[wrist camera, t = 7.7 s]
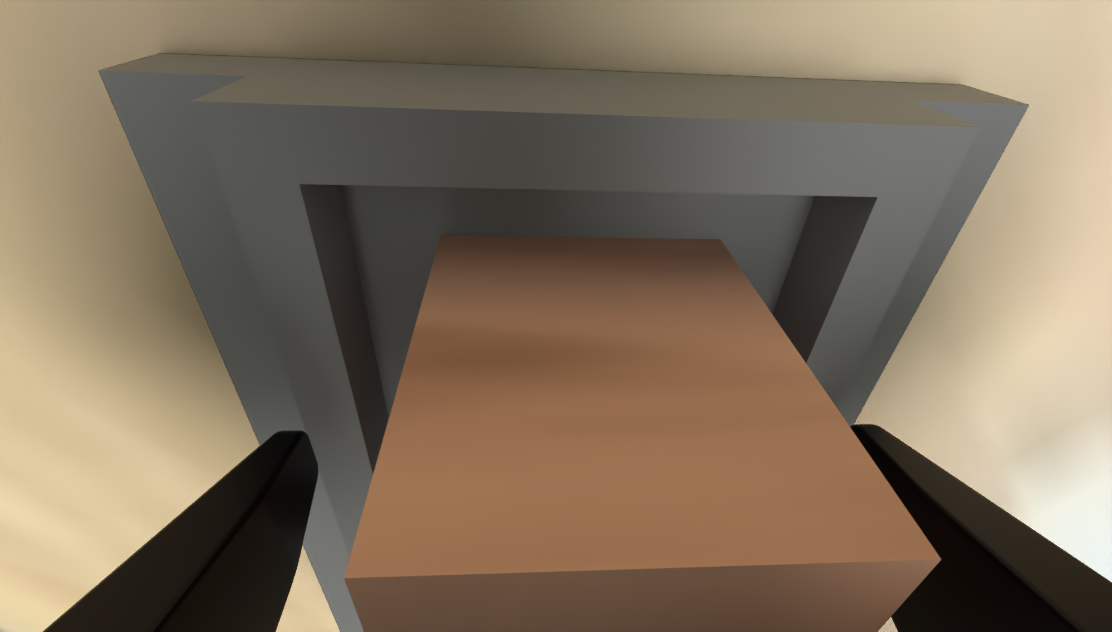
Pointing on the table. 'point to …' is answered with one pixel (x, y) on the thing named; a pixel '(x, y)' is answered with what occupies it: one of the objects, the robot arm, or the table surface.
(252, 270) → the socket board
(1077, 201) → the table surface
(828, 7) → the table surface
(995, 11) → the table surface
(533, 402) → the terracotta block
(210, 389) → the table surface
